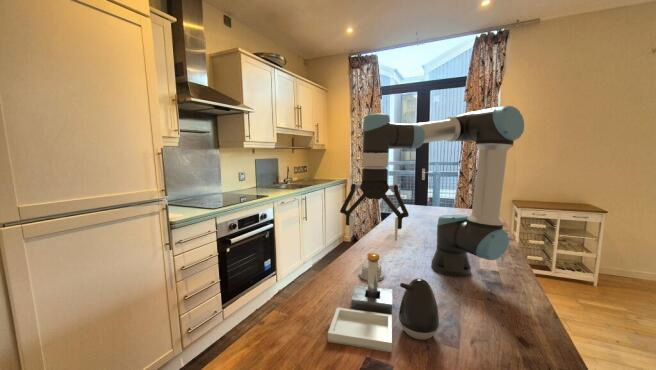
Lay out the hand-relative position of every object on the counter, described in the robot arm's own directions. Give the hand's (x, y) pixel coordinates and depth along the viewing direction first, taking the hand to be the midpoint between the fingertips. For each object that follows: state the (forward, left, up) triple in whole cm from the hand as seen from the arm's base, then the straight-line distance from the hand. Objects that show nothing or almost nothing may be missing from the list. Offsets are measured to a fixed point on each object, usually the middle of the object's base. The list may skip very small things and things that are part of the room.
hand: (372, 237), depth 83 cm
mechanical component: (+2, -23, -23) cm, 33 cm away
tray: (+2, +12, -23) cm, 26 cm away
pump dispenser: (-13, +9, -23) cm, 28 cm away
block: (0, 0, -23) cm, 23 cm away
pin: (0, 0, -23) cm, 23 cm away
